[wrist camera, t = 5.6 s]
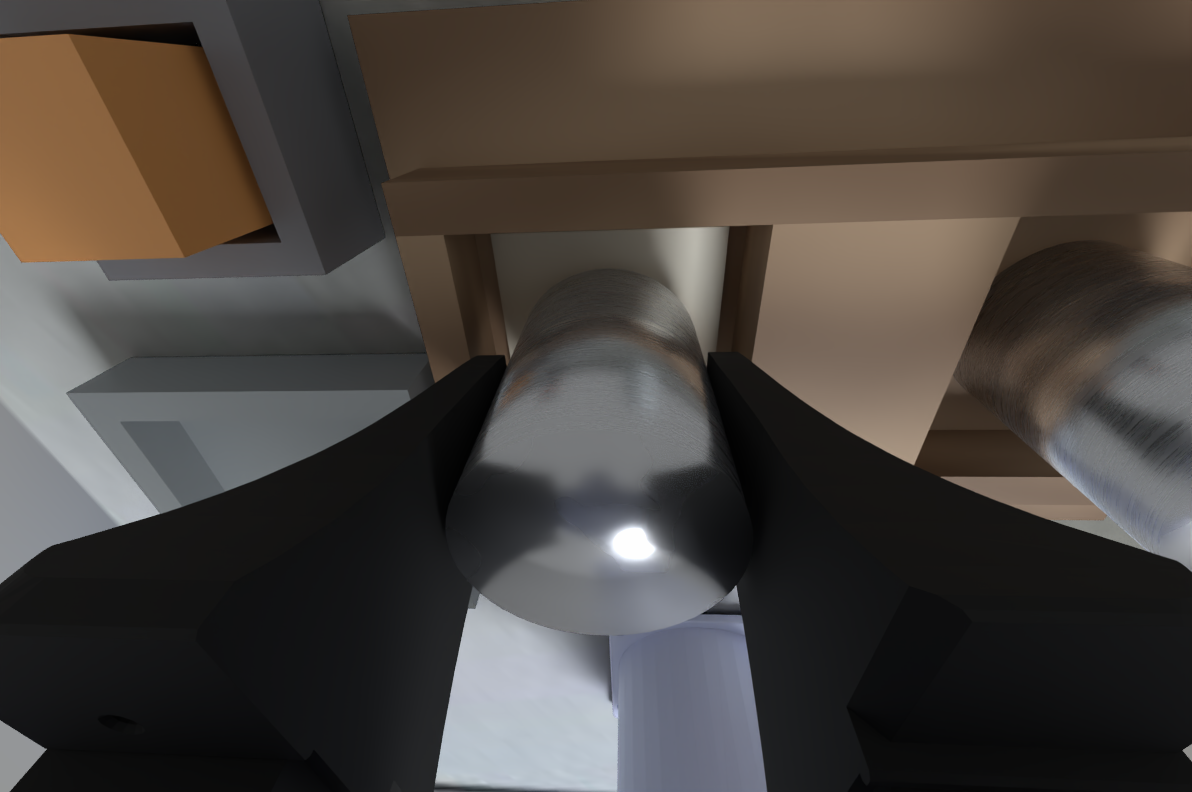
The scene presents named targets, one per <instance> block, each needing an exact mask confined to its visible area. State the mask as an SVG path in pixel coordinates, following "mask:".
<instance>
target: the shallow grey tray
mask: <svg viewBox="0 0 1192 792" xmlns="http://www.w3.org/2000/svg"><path fill="white" fill-rule="evenodd" d="M433 384H435V381H434V378H433V374H432V370H431V367H430V363H429V359H428V355H427V353H423V354H354V355H284V356H214V357H145V358H129V359H127V360H125V361H124V362H122V363H120V364H118V365H116V366H114V367H113V368H111V369H109V370H107V371H105V372H103V373H102V374H100V375H98V376H96V377H94V378H93V379H91V380H89V381H87V382H85V383H83V384H82V385H80V386H78V387H76V388H74V389H72V390H71V391H69V392H67V393H66V394H67V395H68V397H69V398H70V399H71V400H72V402H73V403H74V404H75V406H76V407H77V408H78V409H79V411H80V412H81V413H82V415H83V416H84V417H85V418H86V420H87V421H88V422H89V423H90V425H91V426H92V427H93V429H94V430H95V431H96V432H97V434H98V435H99V436H100V438H101V439H102V440H103V441H104V443H105V444H106V445H107V446H108V448H109V449H110V450H111V452H112V453H113V454H114V455H115V457H116V458H117V459H118V461H119V462H120V463H121V464H122V466H123V467H124V468H125V469H126V471H127V472H128V473H129V475H130V476H131V477H132V478H133V480H134V481H135V482H136V484H137V485H138V486H139V487H140V489H141V490H142V491H143V492H144V494H145V495H146V496H147V498H148V499H149V500H150V501H151V503H152V504H153V505H154V506H155V508H156V509H157V510H158V512H159V513H160V514H162V513H165V512H168V511H171V510H174V509H177V508H180V507H183V506H186V505H189V504H191V503H194V502H197V501H200V500H203V499H206V498H209V497H211V496H214V495H217V494H220V493H223V492H225V491H228V490H230V489H233V488H236V487H238V486H241V485H244V484H246V483H249V482H252V481H254V480H257V479H259V478H261V477H264V476H266V475H268V474H271V473H273V472H275V471H277V470H280V469H282V468H284V467H287V466H289V465H291V464H293V463H296V462H298V461H300V460H303V459H305V458H307V457H310V456H312V455H314V454H316V453H318V452H320V451H322V450H324V449H326V448H328V447H330V446H332V445H334V444H336V443H338V442H340V441H342V440H344V439H346V438H348V437H350V436H352V435H353V434H355V433H357V432H359V431H361V430H362V429H364V428H366V427H368V426H369V425H371V424H373V423H375V422H376V421H378V420H379V419H381V418H383V417H384V416H386V415H387V414H389V413H391V412H392V411H394V410H395V409H397V408H398V407H400V406H402V405H403V404H405V403H406V402H408V401H410V400H411V399H413V398H414V397H416V396H417V395H419V394H420V393H422V392H423V391H424V390H426V389H427V388H429V387H430V386H432V385H433ZM479 594H480V592H478V591H477V590H476V589H475V588H474V587H472V592H471V596H470V601H469V605H468V608H469V609H475V608H476V604H477V601H478V597H479Z"/></svg>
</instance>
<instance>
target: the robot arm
mask: <svg viewBox="0 0 1192 792" xmlns="http://www.w3.org/2000/svg"><path fill="white" fill-rule="evenodd" d="M506 368H507V365H506V359H505V355H477V356H475V357H473V358H471V359H470V360H468V361H467V362H465V363H464V364H462V365H461V366H459V367H458V368H456V369H455V370H453V371H452V372H450V373H449V374H448V375H446V376H445V377H443V378H442V379H440V380H439V381H437V382H436V383H435V384H433V385H432V386H430V387H429V388H427V389H426V390H424V391H423V392H422V393H420V394H419V395H417V396H416V397H414V398H413V399H411V400H410V401H408V402H406V403H405V404H403V405H402V406H400V407H398V408H397V409H395V410H394V411H392V412H391V413H389V414H387V415H386V416H384V417H383V418H381V419H379V420H378V421H376V422H375V423H373V424H371V425H369V426H368V427H366V428H364V429H362V430H361V431H359V432H357V433H355V434H353V435H352V436H350V437H348V438H346V439H344V440H342V441H340V442H338V443H336V444H334V445H332V446H330V447H328V448H326V449H324V450H322V451H320V452H318V453H316V454H314V455H312V456H310V457H307V458H305V459H303V460H300V461H298V462H296V463H293V464H291V465H289V466H287V467H284V468H282V469H280V470H277V471H275V472H273V473H271V474H268V475H266V476H264V477H261V478H259V479H257V480H254V481H252V482H249V483H246V484H244V485H241V486H238V487H236V488H233V489H230V490H228V491H225V492H223V493H220V494H217V495H214V496H211V497H209V498H206V499H203V500H200V501H197V502H194V503H191V504H189V505H186V506H183V507H180V508H177V509H174V510H171V511H168V512H165V513H162V514H159V515H155V516H152V517H149V518H145V519H142V520H139V521H135V522H132V523H129V524H125V525H122V526H118V527H115V528H112V529H108V530H105V531H102V532H98V533H95V534H92V535H88V536H85V537H82V538H78V539H75V540H71V541H67V542H63V543H60V544H56V545H53V546H51V547H49V548H47V549H46V550H44V551H42V552H41V553H39V554H38V555H37V556H35V557H34V558H33V559H31V560H30V561H29V562H27V563H26V564H25V565H24V566H23V567H21V568H20V569H19V570H17V571H16V572H15V573H13V575H11V576H10V577H8V578H7V579H6V580H5V581H4V582H2V583H1V584H0V720H1V721H3V722H4V723H5V724H7V725H9V726H10V727H12V728H13V729H15V730H17V731H18V732H20V733H21V734H23V735H25V736H26V737H28V738H29V739H31V740H33V741H34V742H36V743H37V744H39V745H41V746H42V747H44V748H46V749H47V750H46V751H45V752H44V753H43V754H42V756H41V757H40V758H39V759H38V760H37V761H36V762H35V764H34V765H33V766H32V767H31V768H30V769H29V770H28V772H27V773H26V774H25V775H24V776H23V777H22V779H20V781H19V782H18V783H17V784H16V785H15V786H14V788H13V789H12V790H11V791H10V792H434V786H435V779H436V773H437V767H438V761H439V755H440V749H441V743H442V736H443V731H444V725H445V720H446V714H447V709H448V704H449V698H450V693H451V687H452V682H453V677H454V671H455V666H456V662H457V657H458V652H459V647H460V642H461V637H462V632H463V628H464V623H465V618H466V614H467V609H468V605H469V601H470V596H471V592H472V587H473V586H472V585H471V584H470V583H469V582H468V581H467V579H466V578H465V577H464V575H463V574H462V573H461V571H460V570H459V569H458V567H457V565H456V563H455V561H454V560H453V558H452V555H451V553H450V550H449V547H448V544H447V538H446V532H445V529H446V515H447V510H448V506H449V503H450V501H451V498H452V496H453V493H454V491H455V489H456V486H457V484H458V482H459V479H460V477H461V475H462V472H463V470H464V467H465V465H466V463H467V460H468V458H469V456H470V453H471V451H472V449H473V446H474V444H475V441H476V439H477V437H478V434H479V432H480V430H481V427H482V425H483V422H484V420H485V418H486V415H487V413H488V411H489V408H490V406H491V404H492V401H493V399H494V396H495V394H496V392H497V389H498V387H499V385H500V382H501V380H502V378H503V375H504V373H505V370H506ZM707 371H708V375H709V378H710V382H711V385H712V388H713V392H714V395H715V399H716V402H717V405H718V409H719V412H720V416H721V419H722V423H723V426H724V429H725V433H726V436H727V440H728V443H729V447H730V450H731V453H732V457H733V460H734V464H735V467H736V471H737V474H738V477H739V481H740V484H741V488H742V491H743V494H744V498H745V501H746V505H747V508H748V512H749V515H750V519H751V523H752V527H753V549H752V555H751V558H750V561H749V564H748V566H747V569H746V571H745V572H744V574H743V576H742V578H741V579H740V581H739V582H738V583H737V591H738V597H739V602H740V608H741V614H742V615H716V614H700V615H698V616H696V617H694V618H692V619H689V620H687V621H685V622H682V623H680V624H677V625H674V626H671V627H667V628H664V629H660V630H655V631H651V632H645V633H638V634H631V635H616V636H609V645H610V665H611V685H612V705H613V715H614V717H616V718H618V784H617V792H1192V762H1191V760H1190V759H1189V758H1188V757H1187V756H1186V754H1185V753H1184V752H1183V751H1182V750H1183V749H1185V748H1186V747H1188V746H1189V745H1191V744H1192V572H1191V571H1190V570H1189V569H1188V568H1187V567H1185V566H1184V565H1183V564H1181V563H1180V562H1178V561H1176V560H1173V559H1170V558H1167V557H1163V556H1160V555H1157V554H1154V553H1151V552H1148V551H1144V550H1141V549H1138V548H1135V547H1132V546H1129V545H1125V544H1122V543H1119V542H1116V541H1113V540H1110V539H1106V538H1103V537H1100V536H1097V535H1094V534H1091V533H1088V532H1084V531H1081V530H1078V529H1075V528H1072V527H1069V526H1065V525H1062V524H1059V523H1056V522H1054V521H1051V520H1048V519H1045V518H1042V517H1040V516H1037V515H1034V514H1031V513H1029V512H1026V511H1023V510H1021V509H1018V508H1015V507H1013V506H1010V505H1007V504H1005V503H1002V502H999V501H996V500H994V499H991V498H989V497H986V496H984V495H981V494H979V493H976V492H974V491H971V490H969V489H967V488H964V487H962V486H959V485H957V484H954V483H952V482H950V481H948V480H946V479H943V478H941V477H939V476H937V475H934V474H932V473H930V472H928V471H926V470H923V469H921V468H919V467H917V466H914V465H912V464H910V463H908V462H906V461H904V460H902V459H900V458H898V457H896V456H894V455H892V454H890V453H888V452H886V451H884V450H883V449H881V448H879V447H877V446H875V445H873V444H872V443H870V442H868V441H866V440H864V439H862V438H861V437H859V436H857V435H855V434H853V433H852V432H850V431H848V430H847V429H845V428H843V427H842V426H840V425H838V424H837V423H835V422H834V421H832V420H831V419H829V418H828V417H826V416H825V415H823V414H822V413H820V412H818V411H817V410H815V409H814V408H812V407H811V406H810V405H808V404H807V403H805V402H804V401H802V400H801V399H800V398H798V397H797V396H795V395H794V394H793V393H791V392H790V391H789V390H787V389H786V388H785V387H783V386H782V385H781V384H779V383H778V382H777V381H776V380H774V379H773V378H772V377H770V376H769V375H768V374H767V373H765V372H764V371H763V370H762V369H760V368H759V367H758V366H756V365H755V364H754V363H753V362H751V361H750V360H749V359H747V358H746V357H745V356H743V355H742V354H740V353H739V352H708V358H707Z"/></svg>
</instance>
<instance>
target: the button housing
mask: <svg viewBox="0 0 1192 792" xmlns="http://www.w3.org/2000/svg"><path fill="white" fill-rule="evenodd" d="M59 34H74V35H85V36H95V37H105V38H115V39H126V40H136V41H146V42H157V43H167V44H177V45H188V44H202V46H203V49H204V51H205V54H206V56H207V59H208V61H209V64H210V66H211V69H212V71H213V74H214V76H215V79H216V81H217V84H218V86H219V89H220V91H221V94H222V96H223V99H224V101H225V104H226V106H227V109H228V111H229V114H230V116H231V119H232V121H233V124H234V126H235V129H236V131H237V133H238V136H239V138H240V141H241V143H242V146H243V148H244V151H245V153H246V156H247V158H248V161H249V163H250V166H251V168H252V171H253V173H254V176H255V178H256V181H257V183H258V186H259V188H260V191H261V193H262V196H263V198H264V201H265V203H266V206H267V208H268V211H269V213H270V216H271V218H272V221H273V224H271V225H268V226H266V227H263V228H260V229H258V230H255V231H253V232H250V233H248V234H245V235H242V236H240V237H237V238H235V239H232V240H229V241H227V242H224V243H222V244H219V245H216V246H214V247H211V248H209V249H206V250H203V251H201V252H198V253H196V254H193V255H190V256H188V257H185V258H158V259H124V260H96V261H97V262H98V264H99V265H100V267H101V269H102V270H103V272H104V273H105V275H106V277H107V278H108V280H109V281H110V280H148V279H186V278H224V277H263V276H301V275H326V274H328V273H330V272H331V271H333V270H334V269H336V268H338V267H339V266H341V265H342V264H344V263H346V262H347V261H349V260H350V259H352V258H354V257H355V256H357V255H358V254H360V253H362V252H363V251H365V250H366V249H368V248H370V247H371V246H373V245H374V244H376V243H378V242H379V241H381V240H382V239H384V238H385V234H384V231H383V227H382V224H381V220H380V217H379V213H378V209H377V206H376V202H375V199H374V195H373V192H372V188H371V185H370V181H369V177H368V174H367V170H366V167H365V163H364V160H363V156H362V153H361V149H360V145H359V142H358V138H357V135H356V131H355V128H354V124H353V121H352V117H351V113H350V110H349V106H348V103H347V99H346V96H345V92H344V89H343V85H342V81H341V78H340V74H339V71H338V67H337V64H336V60H335V57H334V53H333V50H332V46H331V42H330V39H329V35H328V32H327V28H326V25H325V21H324V18H323V14H322V10H321V7H320V3H319V0H0V38H12V37H27V36H43V35H59Z"/></svg>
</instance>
